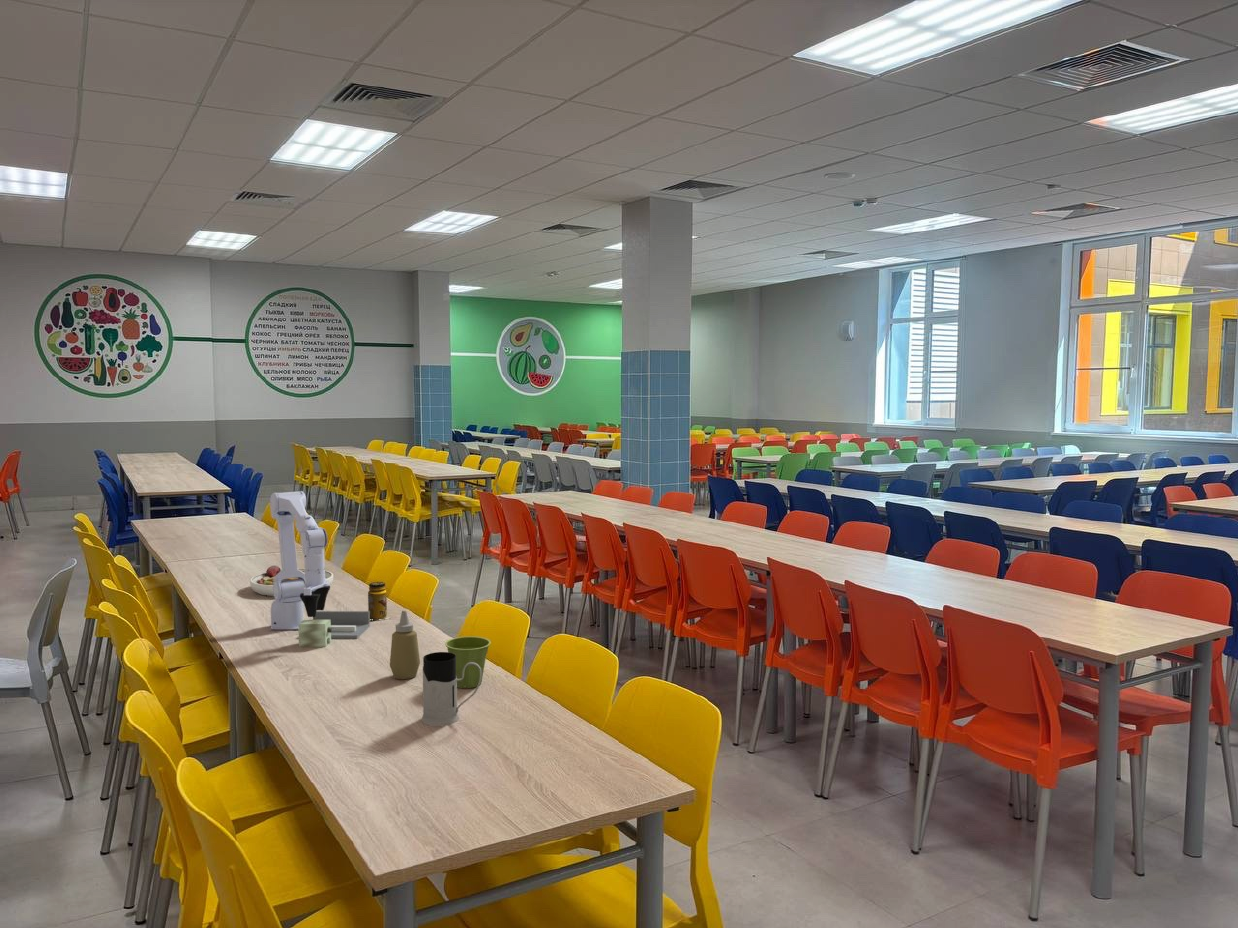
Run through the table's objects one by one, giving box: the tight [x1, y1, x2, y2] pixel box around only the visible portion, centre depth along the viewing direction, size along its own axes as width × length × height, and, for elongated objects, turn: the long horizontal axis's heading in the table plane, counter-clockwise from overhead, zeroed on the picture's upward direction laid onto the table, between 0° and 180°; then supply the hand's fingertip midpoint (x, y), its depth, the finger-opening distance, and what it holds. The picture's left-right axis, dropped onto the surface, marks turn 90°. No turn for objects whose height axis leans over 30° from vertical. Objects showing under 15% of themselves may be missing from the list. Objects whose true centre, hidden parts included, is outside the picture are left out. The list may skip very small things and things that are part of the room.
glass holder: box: [420, 651, 482, 727], centre depth 202 cm, size 9×14×15 cm, turn 88°
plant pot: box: [444, 635, 492, 689], centre depth 226 cm, size 12×12×11 cm
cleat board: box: [312, 610, 371, 640], centre depth 274 cm, size 18×14×5 cm
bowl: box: [249, 565, 334, 597], centre depth 332 cm, size 30×30×8 cm
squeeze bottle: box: [389, 610, 421, 680], centre depth 232 cm, size 8×8×18 cm
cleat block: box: [298, 619, 332, 648], centre depth 261 cm, size 9×5×7 cm, turn 91°
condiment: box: [367, 581, 391, 622], centre depth 290 cm, size 7×8×12 cm
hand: (315, 613), depth 260 cm, fingers open, 7 cm apart
